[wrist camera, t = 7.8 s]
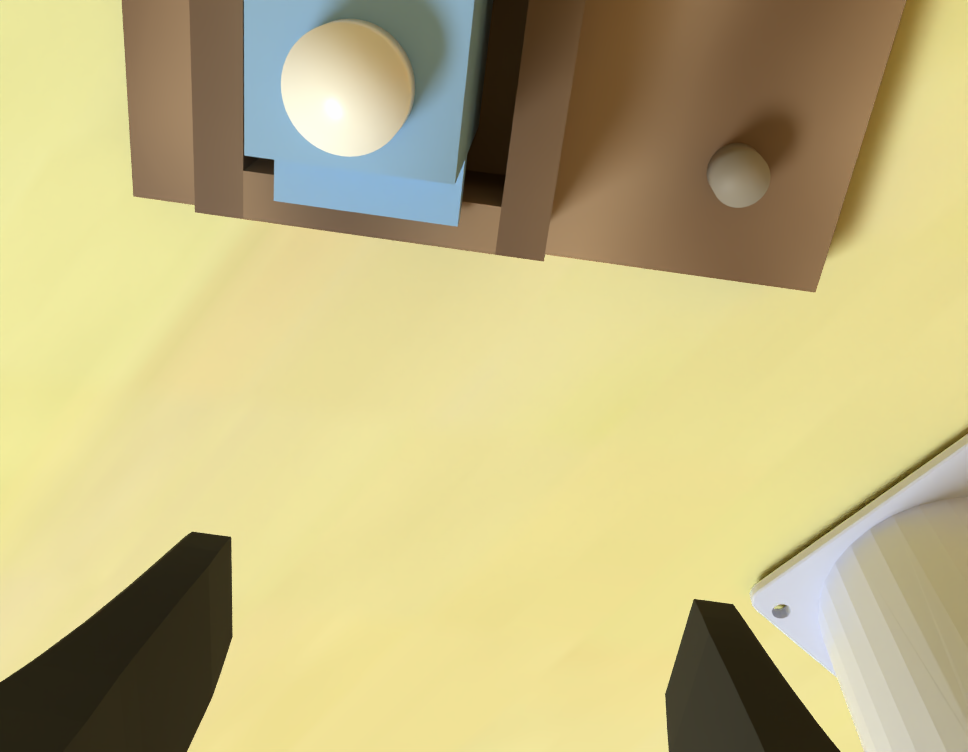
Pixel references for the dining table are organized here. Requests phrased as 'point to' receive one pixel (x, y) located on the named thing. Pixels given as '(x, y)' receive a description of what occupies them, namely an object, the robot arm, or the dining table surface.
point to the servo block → (366, 101)
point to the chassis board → (572, 130)
